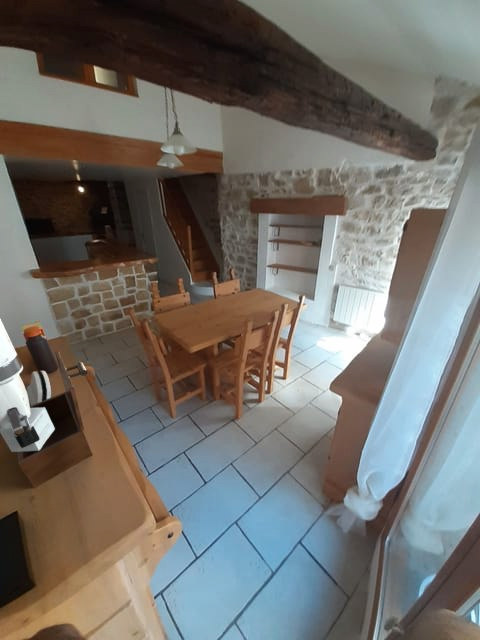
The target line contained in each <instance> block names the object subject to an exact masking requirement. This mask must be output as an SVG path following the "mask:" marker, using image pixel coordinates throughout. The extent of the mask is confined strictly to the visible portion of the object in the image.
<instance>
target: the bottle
mask: <svg viewBox="0 0 480 640" xmlns="http://www.w3.org/2000/svg"><path fill="white" fill-rule="evenodd" d="M24 334H25V336H26V337H27V338H28V339H27V341H26V340H25V345H26V348H27V350H28V352H29V354H30V356H31V359H32V360H33V363H34V365H35V367H36V369H37V372H38V373H39V372H40V371H45V372H46V373H47V375H49V374H50V375H51V374H52V373H54V372H56V371H57V370H58V369H59V365H58V361H57V359H56V357H55V355H54V353H53V350H52V348H51V345H50V343H49V341H48V338H47V337H45V336H46V335H45V336H43V335H41V331H40V328H39V327H37V326H34V327H29V328H27V329H25V330H24Z"/></svg>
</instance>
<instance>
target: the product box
mask: <svg viewBox="0 0 480 640" xmlns="http://www.w3.org/2000/svg"><path fill="white" fill-rule="evenodd" d="M30 412H31V415H30V417H29V418H28V419H29V421H30V424H31V427H32V426H34V428H35V430H36V432H37V434H38V436H39V439H40V440H39V441H37V442H35V443H33V444H31V445H28V446H26V447H24V448H21V447H20V445H19V443H18V442H17V440H16V438H15V436H14V433H13V431H12V428H11V425H10V423H9V426H8V427H6V428H1V427H0V434H1V436H2V438H3V440H4V442H5V443H6V445H7V447H8V448H9V450H10V452H11V453H17V452H21V451H39V450H40V449H41V447H42V446H43V445H44V443H45V442H46V440H47V439H48V438H49V436H50V435H51V434H52V432H53V431H54V429H55V428H54V426H53V424H52V422H51V419H50V417H49V415H48V413H47V411H46V409H45V408H30ZM19 417H20V418H22V417H24V416H23V415H19ZM21 423H22V425H23V426H27V425H26V423H25V420H23V421H21Z"/></svg>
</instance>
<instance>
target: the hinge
mask: <svg viewBox="0 0 480 640" xmlns="http://www.w3.org/2000/svg"><path fill="white" fill-rule="evenodd" d="M51 387H52V386H51V383H50V378H49V376H48V374H47V373H46V372H45V371H40V372H38V371H32V372H31V378H30V383H29V384H28V385H27V386H26V391H27V395H28V399H29V402H30V404H31V406H32V405H34V404H37V403H39V402H42V401H44V400H47V399H49V398H51V397H52V388H51Z"/></svg>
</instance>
